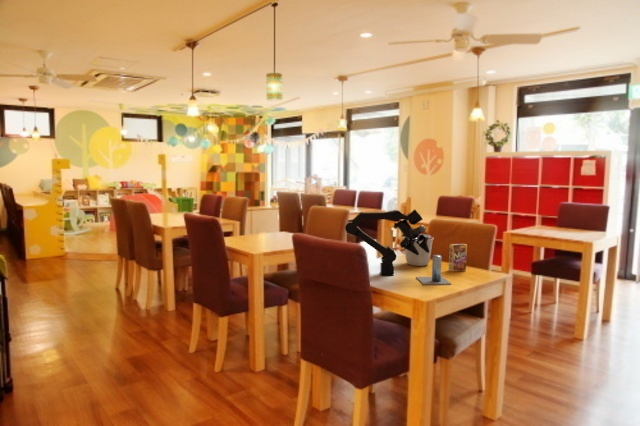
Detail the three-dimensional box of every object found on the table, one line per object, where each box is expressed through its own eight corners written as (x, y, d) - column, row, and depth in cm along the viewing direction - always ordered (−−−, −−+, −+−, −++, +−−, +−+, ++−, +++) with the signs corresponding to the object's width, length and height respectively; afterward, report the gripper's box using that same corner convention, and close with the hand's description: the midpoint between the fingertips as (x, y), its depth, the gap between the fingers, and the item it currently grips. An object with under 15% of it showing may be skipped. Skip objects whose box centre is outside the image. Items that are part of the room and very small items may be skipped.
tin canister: (435, 282, 222) (436, 256, 221) (430, 280, 226) (430, 255, 225) (442, 281, 224) (443, 256, 223) (437, 279, 228) (437, 254, 227)
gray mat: (423, 284, 220) (423, 283, 220) (415, 278, 234) (415, 276, 234) (451, 284, 221) (451, 283, 220) (442, 277, 234) (442, 276, 234)
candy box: (452, 272, 248) (452, 245, 247) (448, 270, 252) (449, 243, 251) (466, 271, 250) (467, 244, 248) (462, 269, 254) (463, 243, 253)
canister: (431, 262, 275) (432, 228, 273) (434, 268, 257) (435, 232, 255) (401, 261, 277) (402, 227, 275) (402, 267, 259) (403, 231, 257)
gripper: (405, 222, 225) (423, 246, 218) (426, 219, 238) (443, 242, 231) (392, 235, 232) (409, 259, 225) (413, 232, 244) (430, 254, 238)
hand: (423, 253), depth 229 cm, fingers open, 9 cm apart
